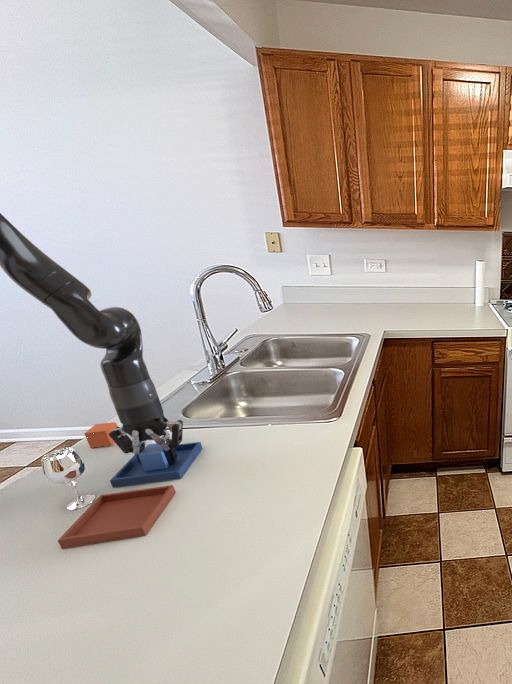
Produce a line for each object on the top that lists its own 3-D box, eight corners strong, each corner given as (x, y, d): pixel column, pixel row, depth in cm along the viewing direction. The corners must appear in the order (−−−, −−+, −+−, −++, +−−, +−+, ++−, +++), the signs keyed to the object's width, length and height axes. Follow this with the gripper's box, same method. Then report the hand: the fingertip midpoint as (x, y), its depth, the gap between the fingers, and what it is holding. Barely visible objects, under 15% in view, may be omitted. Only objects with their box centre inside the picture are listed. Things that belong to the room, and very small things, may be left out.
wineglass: (104, 498, 83) (82, 451, 79) (67, 516, 79) (42, 466, 74) (93, 489, 86) (72, 442, 82) (57, 505, 81) (32, 457, 77)
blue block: (144, 471, 91) (137, 455, 89) (154, 459, 95) (148, 444, 93) (166, 468, 92) (160, 452, 90) (175, 457, 96) (170, 441, 94)
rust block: (90, 448, 100) (83, 433, 99) (101, 438, 105) (95, 424, 103) (111, 446, 101) (105, 431, 100) (121, 436, 105) (115, 422, 104)
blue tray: (112, 488, 87) (109, 480, 86) (142, 455, 98) (140, 448, 97) (180, 478, 89) (178, 471, 89) (202, 448, 100) (200, 441, 100)
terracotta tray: (61, 548, 71) (57, 540, 71) (104, 502, 82) (100, 494, 82) (145, 535, 74) (142, 527, 73) (176, 492, 85) (173, 484, 84)
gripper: (180, 388, 92) (200, 450, 98) (108, 395, 89) (134, 458, 95) (164, 403, 85) (187, 468, 91) (86, 411, 82) (115, 478, 88)
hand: (159, 463), depth 93 cm, fingers closed on blue block, 4 cm apart
